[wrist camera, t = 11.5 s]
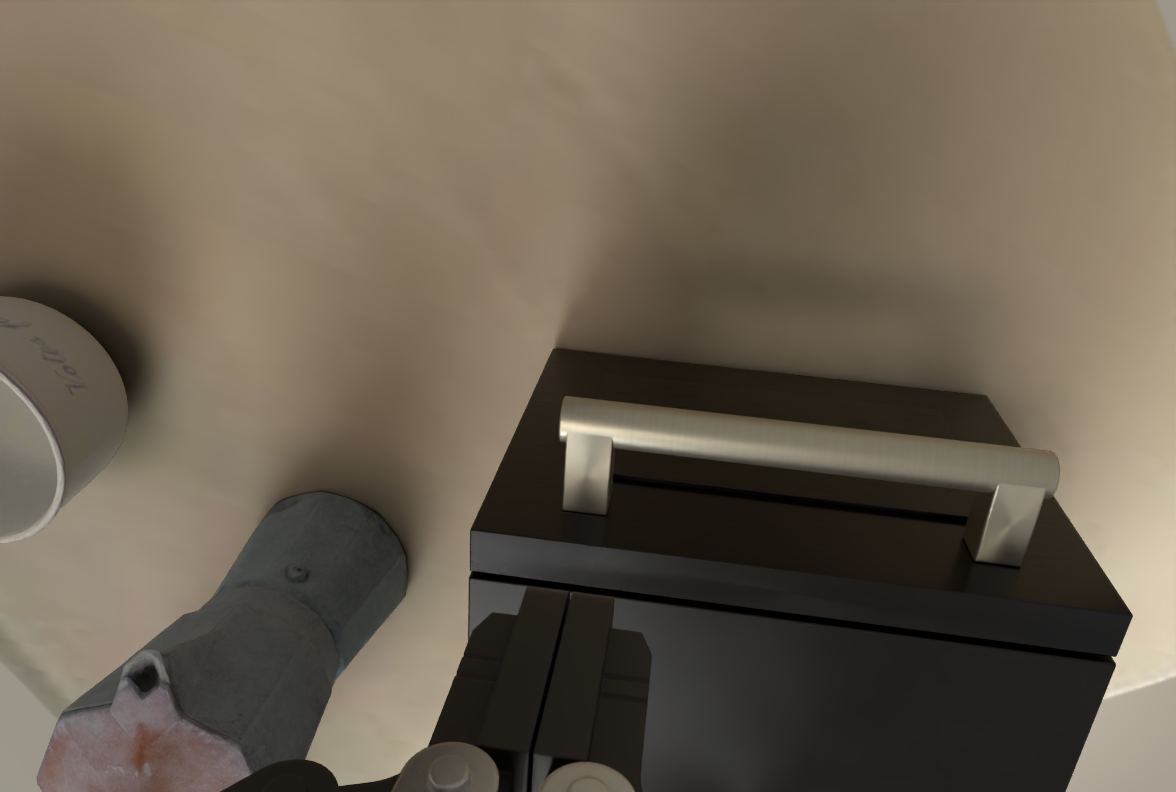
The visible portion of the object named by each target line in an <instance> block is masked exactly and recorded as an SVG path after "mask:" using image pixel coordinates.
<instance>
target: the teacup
mask: <svg viewBox="0 0 1176 792" xmlns="http://www.w3.org/2000/svg"><path fill="white" fill-rule="evenodd" d="M127 421H128V402H127V396H126V391H125V387H124V384H123V382H122V379H121V376H120V374H119V372H118V370H117V368H116V366H115V364H114V363H113V361H112V359H111V358H110V356H109V355H108V354H107V352H106V351H105V349H104V348H103V347H102V346H101V345H100V344H99V342H98V341H97V340H96V339H95V338H94V337H93V336H92V335H91V334H90V333H89V332H88V331H86V330H85V329H84V328H83V327H82V326H80V325H79V324H78V323H76V322H75V321H73V320H72V319H70V318H69V317H67V316H65V315H64V314H62V313H60V312H58V311H57V310H55V309H52V308H50V307H48V306H45V305H43V304H40V303H37V302H33V301H30V300H26V299H22V298H16V297H6V296H0V543H6V542H12V541H16V540H20V539H24V538H27V537H29V536H31V535H33V534H35V533H37V532H38V531H40V530H42V529H43V528H44V527H45V526H46V525H48V524H49V523H50V522H51V520H52V519H53V518H54V517H55V516H56V514H57V513H58V511H59V510H60V509H61V508H62V507H63V506H64V505H65V504H67V503H68V502H69V501H70V500H71V499H72V498H73V497H74V496H76V495H77V494H78V493H79V492H80V491H81V490H82V489H83V488H84V487H85V486H87V485H88V484H89V483H90V482H91V481H92V480H93V479H94V478H95V477H96V476H97V475H98V474H99V473H100V472H101V471H102V470H103V469H104V468H105V466H106V465H107V464H108V463H109V462H110V460H111V459H112V458H113V456H114V455H115V454H116V452H117V450H118V449H119V447H120V445H121V442H122V440H123V438H124V434H125V431H126V427H127Z"/></svg>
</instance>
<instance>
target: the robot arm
mask: <svg viewBox="0 0 1176 792" xmlns="http://www.w3.org/2000/svg"><path fill="white" fill-rule="evenodd" d="M614 603H615V597H608V596H600V595H593V594H585V593H578V592H573V593H572V596H571V599H570V592H569V591H561V590H554V589H547V588H539V587H532V586H528V587H527V588H526V591H525V594H524V597H523V600H522V603H521V606H520V609H519V612H518V615H511V614H504V613H496V612H492V613H491V614H490V615H489V616H488V617H487V618H485V619H484V620H483V621H482V622H481V623H480V624H479V625H478V626H477V627H476V628H475V629H474V630H473V631H472V633H471V636H470V639H469V641H468V644H467V646H466V649H465V652H464V657H462V659H461V662H460V665H459V667H458V670H457V675H456V676H455V678H454V680H453V683H452V686H451V688H450V691H449V693H448V696H447V699H446V701H445V704H444V706H443V709H442V712H441V714H440V717H439V719H438V722H437V725H436V727H435V730H434V732H433V735H432V738H431V740H430V743H429V745H428V747H427V748H424V749H423V750H421V751H419V752H418V753H416V754H415V755H414V756H413V757H411V758H410V760H409V761H408V762H407V763H406V764H405V766H404V767H403V769H402V771H401V773H399V774H397V775H395V776H393V777H390V778H387V779H384V780H380V781H375V782H368V783H361V784H353V785H345V786H338V783H337V781H336V778H335V777H334V775H333V774H332V772H330V771H329V770H328V769H327V768H326V767H324V766H323V765H321V764H319V763H316V762H314V761H309V760H301V759H293V760H285V761H280V762H277V763H274V764H271V765H268V766H266V767H264V768H262V769H260V770H258V771H256V772H255V773H253V774H251V775H249V776H247V777H245V778H244V779H242V780H240V781H238V782H236V783H235V784H233V785H231V786H229V787H227V788H226V789H224V790H222V791H220V792H643V791H642V787H641V767H642V756H643V746H644V736H645V725H646V715H647V704H648V694H649V683H650V673H651V663H652V654H651V651H650V649H649V647H648V645H647V643H646V640H645V638H644V636H643V634H642V632H636V631H629V630H621V629H614V628H612V625H613V615H614Z"/></svg>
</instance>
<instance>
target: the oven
mask: <svg viewBox="0 0 1176 792" xmlns="http://www.w3.org/2000/svg"><path fill="white" fill-rule="evenodd" d="M528 586H532V587H539V588H547V589H554V590H561V591H569V592H570V599H571V596H572V593H573V592H578V593H585V594H593V595H600V596H608V597H615V603H614V615H613V625H612V628H614V629H621V630H629V631H636V632H642V634H643V636H644V638H645V640H646V643H647V645H648V647H649V649H650V651H651V654H652V663H651V673H650V683H649V694H648V704H647V715H646V725H645V736H644V746H643V756H642V767H641V787H642V791H643V792H1066V789H1067V786H1068V784H1069V782H1070V779H1071V777H1072V774H1073V771H1074V769H1075V766H1076V764H1077V762H1078V759H1079V757H1080V754H1081V751H1082V749H1083V747H1084V744H1085V742H1086V739H1087V737H1088V734H1089V732H1090V729H1091V727H1092V724H1093V722H1094V719H1095V717H1096V714H1097V711H1098V709H1099V707H1100V704H1101V702H1102V699H1103V697H1104V694H1105V692H1106V689H1107V687H1108V684H1109V682H1110V679H1111V677H1112V674H1113V672H1114V669H1115V667H1116V663H1115V662H1114V660H1113V658H1112V657H1111V656H1106V655H1098V654H1091V653H1083V652H1076V651H1068V650H1061V649H1053V648H1046V647H1038V646H1031V645H1023V644H1016V643H1008V642H1001V641H993V640H986V639H978V638H971V637H963V636H956V635H948V634H941V633H933V632H926V631H918V630H911V629H903V628H896V627H888V626H881V625H873V624H866V623H858V622H851V621H843V620H836V619H828V618H821V617H813V616H806V615H798V614H791V613H783V612H776V611H768V610H761V609H753V608H746V607H738V606H731V605H723V604H716V603H708V602H701V601H693V600H686V599H678V598H671V597H663V596H656V595H648V594H641V593H633V592H626V591H618V590H611V589H603V588H596V587H588V586H581V585H573V584H566V583H558V582H551V581H543V580H536V579H528V578H521V577H513V576H506V575H498V574H491V573H483V572H476V571H472V572H471V574H470V577H469V615H468V641H469V639H470V636H471V633H472V631H473V630H474V629H475V628H476V627H477V626H478V625H479V624H480V623H481V622H482V621H483V620H484V619H485V618H487V617H488V616H489V615H490V614H491V613H492V612H496V613H504V614H511V615H518V612H519V609H520V606H521V603H522V600H523V597H524V594H525V591H526V588H527V587H528Z"/></svg>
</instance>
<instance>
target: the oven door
mask: <svg viewBox="0 0 1176 792" xmlns="http://www.w3.org/2000/svg"><path fill="white" fill-rule="evenodd" d="M1059 475H1060V467H1059V461H1058V458H1057V456H1056V454H1055V453H1054V452H1052V451H1046V450H1037V449H1029V448H1021V446H1020V445H1019V443H1018V442H1017V440H1016V439H1015V437H1014V436H1013V434H1012V433H1011V431H1010V430H1009V428H1008V427H1007V425H1006V424H1005V422H1004V421H1003V419H1002V418H1001V416H1000V415H999V413H998V412H997V410H996V409H995V407H994V406H993V404H992V403H991V401H990V400H989V398H988V397H987V396H984V395H975V394H966V393H957V392H948V391H938V390H929V389H920V388H911V387H902V386H892V385H883V384H874V383H865V382H856V381H846V380H837V379H828V378H819V377H810V376H800V375H791V374H782V373H773V372H764V371H754V370H745V369H736V368H727V367H718V366H709V365H699V364H690V363H681V362H672V361H663V360H653V359H644V358H635V357H626V356H617V355H607V354H598V353H589V352H580V351H571V350H561V349H553V350H552V352H551V354H550V356H549V359H548V361H547V363H546V365H545V367H544V369H543V372H542V374H541V376H540V378H539V380H538V383H537V385H536V387H535V389H534V391H533V394H532V396H531V398H530V400H529V402H528V405H527V407H526V409H525V411H524V413H523V416H522V418H521V420H520V422H519V424H518V427H517V429H516V431H515V433H514V435H513V438H512V440H511V442H510V444H509V446H508V449H507V451H506V453H505V455H504V457H503V460H502V462H501V464H500V466H499V468H498V471H497V473H496V475H495V477H494V479H493V482H492V484H491V486H490V488H489V490H488V492H487V495H486V497H485V499H484V501H483V503H482V506H481V508H480V510H479V512H478V514H477V517H476V519H475V521H474V523H473V525H472V528H471V530H470V571H476V572H483V573H491V574H498V575H506V576H513V577H521V578H528V579H536V580H543V581H551V582H558V583H566V584H573V585H581V586H588V587H596V588H603V589H611V590H618V591H626V592H633V593H641V594H648V595H656V596H663V597H671V598H678V599H686V600H693V601H701V602H708V603H716V604H723V605H731V606H738V607H746V608H753V609H761V610H768V611H776V612H783V613H791V614H798V615H806V616H813V617H821V618H828V619H836V620H843V621H851V622H858V623H866V624H873V625H881V626H888V627H896V628H903V629H911V630H918V631H926V632H933V633H941V634H948V635H956V636H963V637H971V638H978V639H986V640H993V641H1001V642H1008V643H1016V644H1023V645H1031V646H1038V647H1046V648H1053V649H1061V650H1068V651H1076V652H1083V653H1091V654H1098V655H1106V656H1113V657H1116V656H1117V654H1118V651H1119V649H1120V646H1121V644H1122V641H1123V639H1124V637H1125V634H1126V632H1127V629H1128V627H1129V624H1130V622H1131V619H1132V617H1133V615H1132V613H1131V612H1130V610H1129V609H1128V607H1127V606H1126V604H1125V603H1124V601H1123V600H1122V598H1121V597H1120V595H1119V594H1118V592H1117V591H1116V589H1115V588H1114V586H1113V585H1112V583H1111V582H1110V580H1109V579H1108V577H1107V576H1106V574H1105V573H1104V571H1103V570H1102V568H1101V567H1100V565H1099V564H1098V562H1097V561H1096V559H1095V558H1094V556H1093V555H1092V553H1091V552H1090V550H1089V549H1088V547H1087V546H1086V544H1085V543H1084V541H1083V540H1082V538H1081V537H1080V535H1079V534H1078V532H1077V531H1076V529H1075V528H1074V526H1073V525H1072V523H1071V522H1070V520H1069V519H1068V517H1067V516H1066V514H1065V513H1064V511H1063V510H1062V508H1061V507H1060V505H1059V504H1058V502H1057V500H1056V499H1055V497H1054V496H1053V495H1054V493H1055V491H1056V489H1057V486H1058V482H1059Z"/></svg>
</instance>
